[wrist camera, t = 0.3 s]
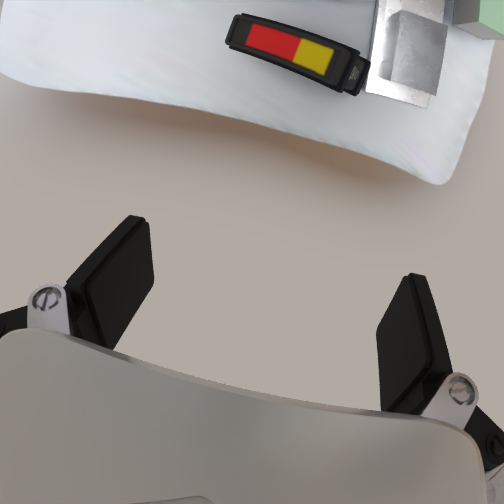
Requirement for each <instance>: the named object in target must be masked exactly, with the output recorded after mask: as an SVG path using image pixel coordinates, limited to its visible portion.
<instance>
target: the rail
mask: <svg viewBox="0 0 504 504" xmlns="http://www.w3.org/2000/svg"><path fill="white" fill-rule="evenodd" d="M444 7H445V0H376V7H375V15H374V22H373V29H372V36H371V43H370V50H369V56H368V60H369V61H370V62H371V68H370V70H369V72H368V74H367V76H366V79H365V81H364V85H363V90H364V91H366V92H370V93H376V94H380V95H383V96H387V97H390V98H394V99H397V100H401V101H404V102H407V103H410V104H413V105H416V106H420V107H422V108H425V109H427V108H428V104H429V99H430V95H431V94H432V95H435V96H436V92H437V88H438V83H439V78H440V73H441V67H442V62H443V56H444V50H445V43H446V36H447V28H448V26H446V25H444V24H443V16H444Z"/></svg>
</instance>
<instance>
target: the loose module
mask: <svg viewBox="0 0 504 504" xmlns="http://www.w3.org/2000/svg"><path fill="white" fill-rule="evenodd" d="M452 26H454V27H457V28H459V29H461V30H463V31H466V32H468V33H470V34H472V35H474V36H476V37H478V38H480V39H482V40H504V0H455V4H454V14H453V23H452Z"/></svg>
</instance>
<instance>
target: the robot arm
mask: <svg viewBox="0 0 504 504" xmlns="http://www.w3.org/2000/svg"><path fill="white" fill-rule="evenodd" d="M66 282H67V284H66V285H65V287H62V286H60V285H58V284H46V285H43V286H40V287H39V288H37V289H36V290H35V291H34V292H33V293H32V294H31V295H30V297H29V301H28V305H27V306H24V307H21V308H18V309H15V310H11V311H8V312H5V313H2V314H0V504H504V432H503V431H502V430H501V429H500V428H499V427H498V426H497V425H496V424H495V423H494V422H493V421H492V420H491V419H490V418H489V417H488V416H487V415H486V414H485V413H484V412H483V411H482V410H481V409H480V408H479V407H478V406H477V405H476V404H477V402H478V398H479V397H478V390H477V387H476V385H475V383H474V382H473V381H472V379H471V378H470V377H468V376H467V375H465V374H462V373H453V370H452V365H451V361H450V357H449V353H448V349H447V345H446V341H445V337H444V334H443V330H442V327H441V323H440V320H439V316H438V313H437V309H436V306H435V303H434V300H433V297H432V294H431V291H430V288H429V285H428V282H427V279H426V277H425V276H423V275H419V274H414V273H410V274H409V275H408V276H404V277H403V279H402V281H401V283H400V285H399V287H398V289H397V291H396V293H395V295H394V297H393V299H392V301H391V303H390V305H389V307H388V308H387V310H386V312H385V314H384V316H383V318H382V320H381V322H380V323H379V325H378V328H377V331H376V339H377V351H378V365H379V378H380V379H379V381H380V402H381V411H373V410H365V409H357V408H348V407H341V406H333V405H326V404H320V403H314V402H308V401H302V400H296V399H291V398H285V397H280V396H275V395H270V394H265V393H260V392H256V391H251V390H247V389H242V388H238V387H233V386H229V385H225V384H221V383H217V382H213V381H210V380H206V379H202V378H199V377H195V376H191V375H188V374H184V373H181V372H177V371H174V370H170V369H167V368H164V367H161V366H158V365H155V364H151V363H148V362H145V361H142V360H139V359H136V358H133V357H130V356H128V355H125V354H122V353H119V352H116V351H113V349H114V348H115V346H116V344H117V343H118V341H119V339H120V338H121V336H122V334H123V333H124V331H125V329H126V328H127V326H128V325H129V323H130V321H131V320H132V318H133V316H134V315H135V313H136V312H137V310H138V309H139V307H140V305H141V304H142V302H143V301H144V299H145V297H146V296H147V294H148V293H149V291H150V290H151V288H152V286H153V284H154V271H153V263H152V251H151V241H150V229H149V223H148V222H146V220H145V219H144V218H143V217H138V216H133V215H129V216H128V217H127V218H126V219H125V220H124V221H123V222H122V223H120V224H119V225H118V227H117V228H116V229H115V230H114V231H113V232H112V233H111V234H110V235H109V236H108V237H107V238H106V239H105V240H104V241H103V242H102V243H101V244H100V245H99V246H98V247H97V248H96V249H95V250H94V251H93V252H92V253H91V254H90V256H89V257H88V258H87V259H86V260H85V261H84V262H83V263H82V264H81V265H80V267H79V268H78V269H77V270H76V271H75V272H74V273H73V274H72V275H71V276H70V278H69V279H68V280H67V281H66Z"/></svg>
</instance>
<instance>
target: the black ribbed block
mask: <svg viewBox="0 0 504 504" xmlns="http://www.w3.org/2000/svg"><path fill="white" fill-rule="evenodd" d="M225 43H226V44H227V45H229V48H230V49H233V50H236V51H239V52H242V53H245V54H248V55H251V56H254V57H257V58H259V59H262V60H265V61H267V62H270V63H273V64H275V65H278V66H280V67H283V68H285V69H288V70H290V71H293V72H295V73H298V74H300V75H302V76H305V77H307V78H309V79H311V80H314V81H316V82H318V83H320V84H322V85H324V86H327V87H329V88H331V89H333V90H335V91H337V92H340V93H343V91H345V92H347V93H349V94H351V95H353V96H357V95H358V94H359V92H360V90H361V87H362V85H363V83H364V81H365V79H366V76H367V74H368V72H369V70H370V68H371V62H370V61H369V60H367V59H365V58H363V57H360V56H359V55H360V52H359V51H358V50H356V49H353V48H351V47H348V46H346V45H343V44H341V43H338V42H336V41H333V40H331V39H328V38H325V37H323V36H320V35H317V34H314V33H311V32H308V31H305V30H302V29H299V28H296V27H293V26H290V25H286V24H283V23H279V22H276V21H272V20H269V19H265V18H261V17H257V16H253V15H249V14H245V13H242V14H241V15H235V16H234V18H233V21H232V23H231V26H230V29H229V31H228V34H227V37H226V40H225Z"/></svg>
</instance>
